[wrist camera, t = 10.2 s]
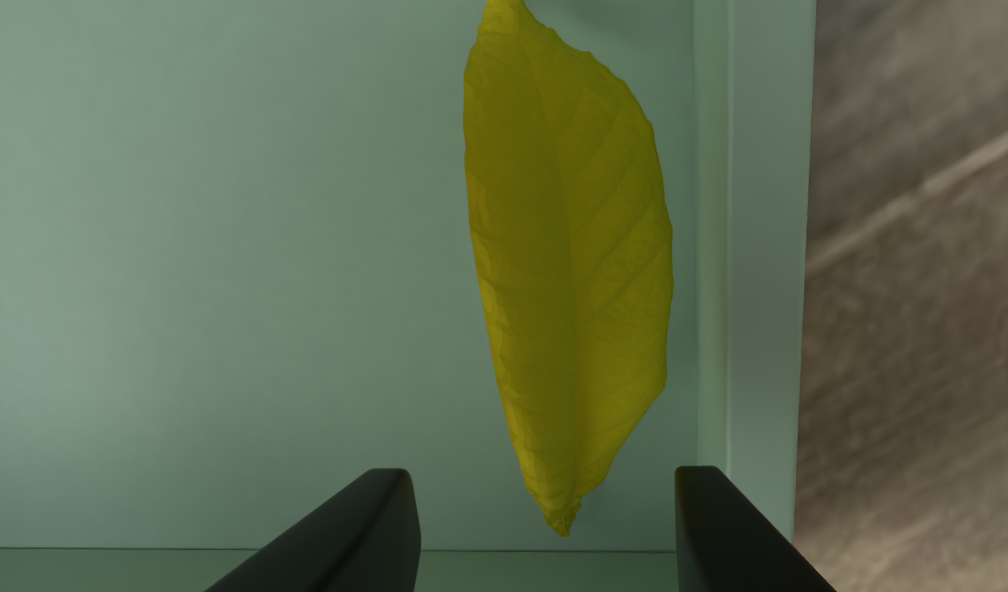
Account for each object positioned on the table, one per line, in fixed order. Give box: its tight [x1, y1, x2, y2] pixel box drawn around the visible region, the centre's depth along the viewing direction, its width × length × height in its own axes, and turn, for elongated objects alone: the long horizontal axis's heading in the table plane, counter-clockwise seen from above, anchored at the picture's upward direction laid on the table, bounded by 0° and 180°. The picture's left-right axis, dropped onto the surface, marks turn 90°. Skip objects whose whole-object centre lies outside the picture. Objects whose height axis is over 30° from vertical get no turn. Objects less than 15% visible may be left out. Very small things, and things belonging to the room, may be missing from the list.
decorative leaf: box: [462, 0, 674, 538], centre depth 13 cm, size 10×2×3 cm, turn 9°
